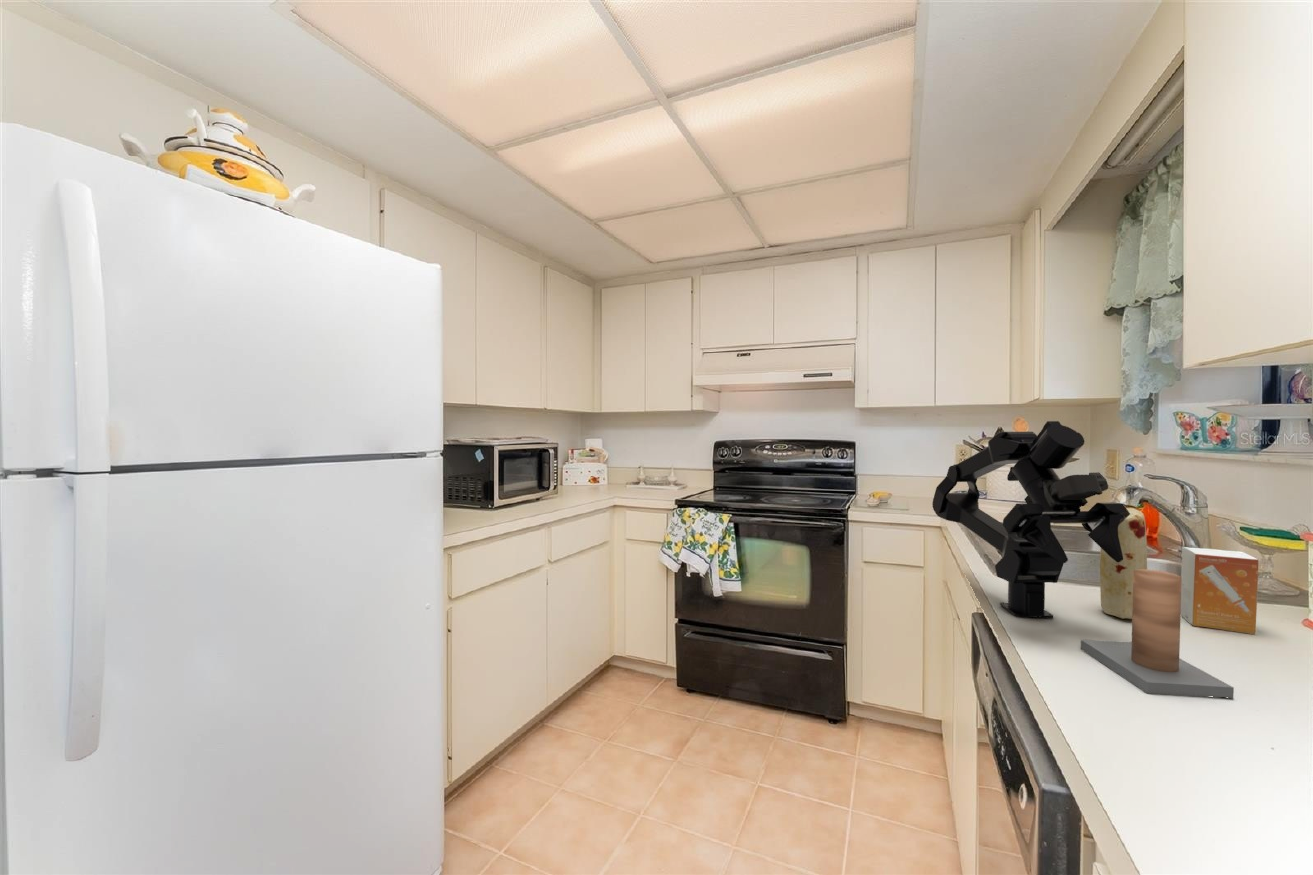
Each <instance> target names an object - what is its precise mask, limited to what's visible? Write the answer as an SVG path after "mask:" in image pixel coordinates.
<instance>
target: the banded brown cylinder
mask: <svg viewBox="0 0 1313 875" xmlns="http://www.w3.org/2000/svg"><path fill="white" fill-rule="evenodd" d="M1181 583H1182V577H1181V576H1180V575H1178V574H1176V573H1172V572H1167V571H1162V570H1157V569H1156V570H1155V569H1148V568H1147V569H1137V570H1134V571H1133V610H1132V619H1131V620H1132V621H1131V642H1132V649H1131V660H1132V661H1133V662H1134V663H1136V664H1138V665H1140V666H1143V667H1145V668H1149V669H1152V670H1156V671H1162V672H1177V671H1179V658H1180V650H1181V649H1180V647H1181V646H1180V643H1181V617H1182V616H1181Z"/></svg>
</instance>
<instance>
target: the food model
mask: <svg viewBox="0 0 1313 875" xmlns="http://www.w3.org/2000/svg"><path fill="white" fill-rule="evenodd" d="M1125 508H1126V509H1127V510H1128V511H1129V513H1130V515H1129V516H1128V517H1127V518H1125V520H1124V521H1123V522H1122V523H1121V524H1119V526H1118V536H1119V541H1120V546H1121V550H1122V554H1123V560H1122V561H1121V562H1116V561H1115V560H1114V559H1112V558H1111V557H1110V556H1109V555H1108V554H1107V553H1106V552H1105V551H1104V550H1103V549H1102V548H1101V547H1100V553H1099V554H1100V556H1099V574H1100V575H1099V576H1100V577H1099V583H1100V584H1099V585H1100V588H1099V589H1100V607H1101V609H1102V612H1104V613H1105V614H1107V615H1110V616H1115V617H1117V618H1119V619H1122V620H1123V619H1129V620H1132V610H1133V571H1134V570H1137V569H1148V542H1147V526H1146V518H1145V514H1144V513H1143V512H1142V511H1140V510H1138V509H1136V508H1133V507H1125Z"/></svg>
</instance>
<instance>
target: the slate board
mask: <svg viewBox="0 0 1313 875" xmlns="http://www.w3.org/2000/svg"><path fill="white" fill-rule="evenodd" d="M1080 649H1081V651H1083V652H1085V653H1086V654H1088V655H1089V656H1091V657H1092V658H1094V660H1097V661H1098V662H1100V663H1101V664H1102V665H1104V666H1106V667H1107V668H1109V669H1110V670H1111V671H1113V672H1114V673H1116V674H1118V675H1119V676H1121V678H1123V679H1125V680H1126V681H1128V682H1130V683H1131V684H1132V685H1134V686H1136V687H1137V688H1138V689H1140V690H1142V691H1143V692H1144V693H1146V694H1152V695H1153V694H1154V695H1166V696H1167V695H1171V696H1182V695H1183V696H1184V695H1185V697H1186V696H1187V697H1198V696H1213V697H1228V698H1227V699H1229V698H1233V699H1234V693H1235V692H1234V691H1235V687H1234V686H1231V685H1230V684H1228V683H1226V682H1224V680H1223V681H1222V680H1220V679H1219V678H1218V677H1217V678H1216V677H1215V676H1213V675H1211V674H1209V673H1208V672H1206V671H1204V670H1203V669H1201V668H1198V667H1196V666H1195V665H1194V664H1191V663H1189V662H1187V661H1186V660H1184V659H1182V658H1180V657H1179V671H1177V672H1162V671H1156V670H1152V669H1149V668H1145V667H1143V666H1140V665H1138V664H1136V663H1134V662H1133V661H1132V660H1131V649H1132V641H1118V640H1117V641H1115V640H1114V641H1113V640H1100V639H1099V640H1098V639H1097V640H1095V639H1080ZM1213 697H1212V698H1213Z"/></svg>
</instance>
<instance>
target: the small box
mask: <svg viewBox="0 0 1313 875" xmlns="http://www.w3.org/2000/svg"><path fill="white" fill-rule="evenodd" d="M1259 562H1260V561H1259V559H1258V558H1256V557H1254V556H1252V555H1250V554H1248V553H1245V552H1244V551H1237V550H1235V551H1233V550H1224V549H1214V548H1198V547H1188V546H1182V547H1181V571H1180V572H1181V573H1180V574H1181V576H1180V577H1182V583H1181V617H1182V618H1183V619H1184V620H1185V621H1186V622H1188V623H1189V624H1190V625H1192V626H1194V627H1203V628H1210V629H1216V630H1223V631H1229V632H1237V633H1243V634H1249V635H1256V632H1257V631H1256V630H1257V629H1256V628H1257V611H1258V610H1257V609H1258V588H1259V585H1258V583H1259V582H1258V581H1259V566H1260V565H1259Z"/></svg>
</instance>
